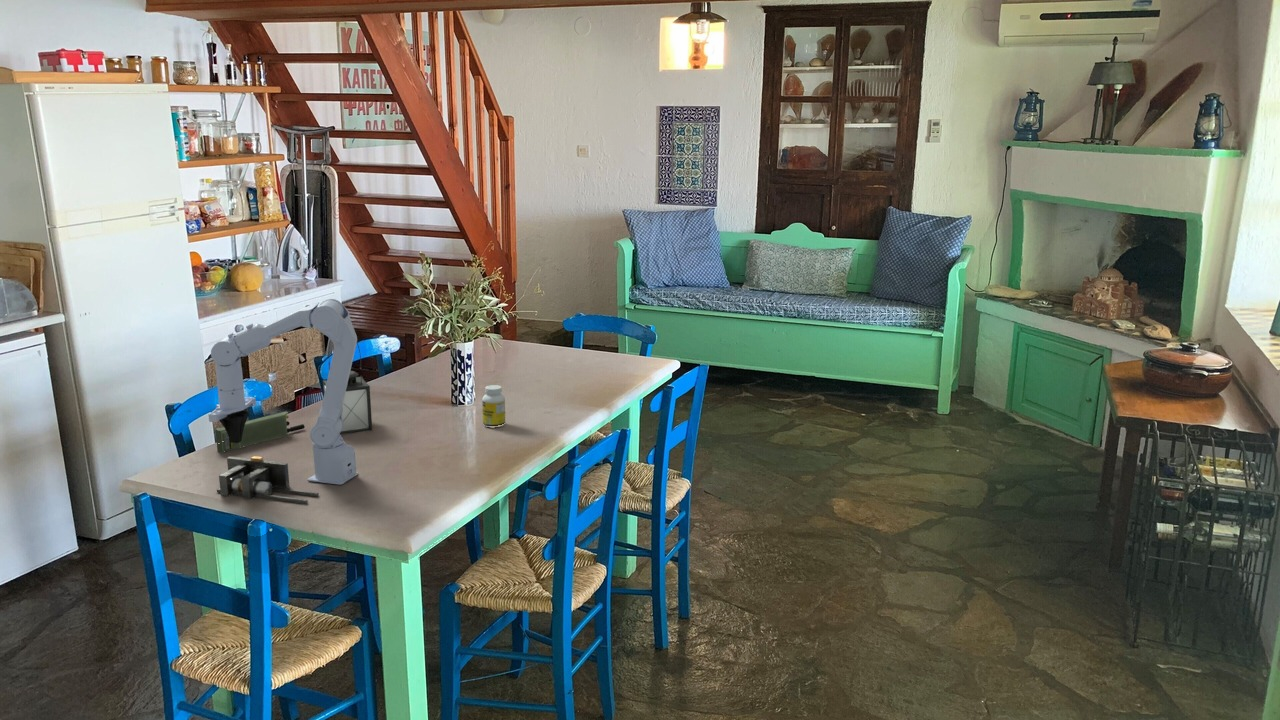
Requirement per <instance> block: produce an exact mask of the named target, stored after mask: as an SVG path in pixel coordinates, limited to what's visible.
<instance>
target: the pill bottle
mask: <svg viewBox="0 0 1280 720" xmlns="http://www.w3.org/2000/svg"><path fill="white" fill-rule="evenodd" d="M484 392H485V393H486V394H484V395H483V397H482V399H481V400H482V403H481V404H482V405H481V406H482V425H483V424H484V425H485V426H498V425H502V424H504V423H505V424H506V397H505V396H504V395H503V394H502V392H503V391H502V386H501V385H498V384H496V385H495V384H494V385H493V384H491V385H485V387H484ZM484 425H483V426H484ZM485 426H484V427H485Z"/></svg>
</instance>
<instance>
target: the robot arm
mask: <svg viewBox="0 0 1280 720" xmlns="http://www.w3.org/2000/svg"><path fill="white" fill-rule="evenodd" d="M300 327H303V328H306V329H310V330H311V329H312V328H313V327H314V328H315V329H316V331H319V332H320V333H322V334H323V335H324V336H326V337H328V339H329V341H330V340H331V342H332V343H333V345H334V349H333V353H332V357H331V362H330V370H329V369H328V374H327V375H328V376H327V384H326V388H325V393H324V392H323V398H322V402H321V403H322V404H321V407H320V409H319V413H318V415H317V419H316V423H314V425H313V426H312V428H311V429H310V432H309V438H310V440H311V443H312V454H313V465H314V466H313V467H314V474H313V475H312V476H310V477H308V478H307V481H308V482H313V483H314V482H315V483H322V484H332V485H339V486H341V485H343V484H345V483H347V482H348V481H349V480H351V479H353V478H354V477H356V476H357V475H359V472H358V471H357V460H356V451H355V447H354V446H352V445H349V444H347V443H345V442H344V438H343V437H342V434H340V432H341V431H342V429H343V425H344V424H343V420H342V412H343V408H342V406H343V401H344V397H345V392H346V388H347V384H348V379H349V375H350V371H352V370H351V369H352V365H353V361H354V355H355V353H356V347H357V343H358V336H357V334H356V331H355V327H354V325H353V323H352V319H351V315H350V311H349V310H348V309H347V308H346V306H344V304H343V303H342V302H340V301H339V300H337V299H336V298H328V299H325V300H323V301H322V302H321V303H320V302H316V303H312V304H310V305H307V306H305V307H302V308H300V309H298V310H296V311H294V312H292V313H290V314H288V315H285V316H284V317H282V318H279V319H277V320H276V321H273V322H271V323H270V324H267V325H264V324H260V323H255V324H253V323H250V324H247V325H246V326H245V329H243V330H241V331H238V332H236V333H233V332H231V333H229V334H227V336H226V337H223V338H222V339H220V340H219V341H217V342H216V343H215V344H214V345H213V346H212V347H211V349H210V357H211V359H212V360H213V362H214V363H215V375H216V387H217V395H218V403H219V404H216V405H215V406H216V408H215V409H214V410H213V411H212V412H210V413H208V421H209V423H221V425H222V427H224V428H225V430H226V432H227V434H228V436H229V439H230V441H231V443H239V442H241V440H242V435H243V430H244V426H245V423H246V421H248V418H249V417H250V412H249V411H246V409H248V408H250V407H255V406H256V405H257V401H256V397H250V396H248V397H245V386H244V379H243V378H244V376H243V368H242V359H241V357H247V356H249V355H251V354H253V353H255V352H257V351H259V350H262V349H264V348H267V347H269V346H270V345H271V341H272V339H273V338H275V337H278V336H280V335H283V334H285V333H288V332H290V331H292V330H294V329H297V328H300Z"/></svg>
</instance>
